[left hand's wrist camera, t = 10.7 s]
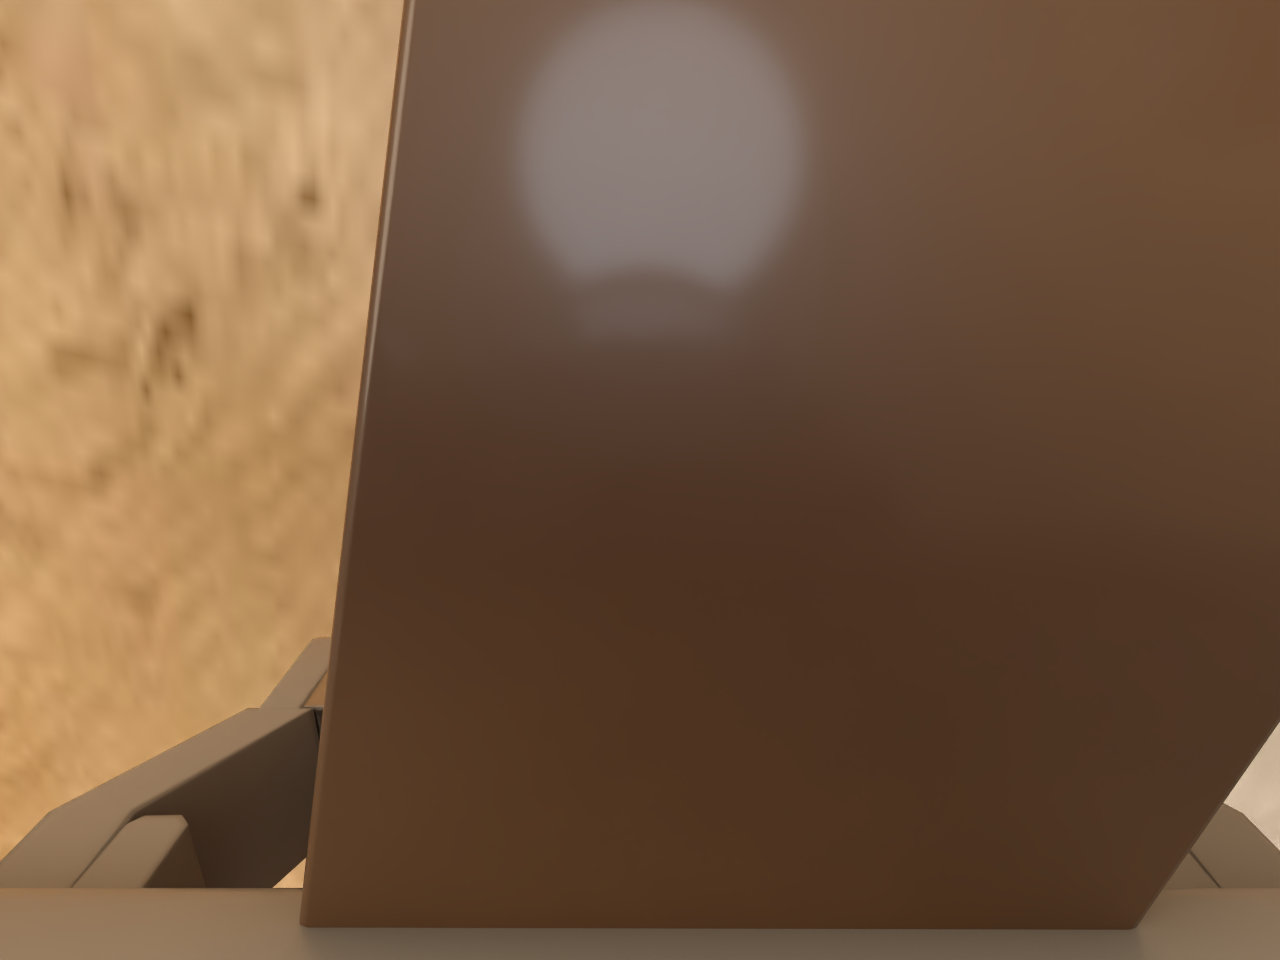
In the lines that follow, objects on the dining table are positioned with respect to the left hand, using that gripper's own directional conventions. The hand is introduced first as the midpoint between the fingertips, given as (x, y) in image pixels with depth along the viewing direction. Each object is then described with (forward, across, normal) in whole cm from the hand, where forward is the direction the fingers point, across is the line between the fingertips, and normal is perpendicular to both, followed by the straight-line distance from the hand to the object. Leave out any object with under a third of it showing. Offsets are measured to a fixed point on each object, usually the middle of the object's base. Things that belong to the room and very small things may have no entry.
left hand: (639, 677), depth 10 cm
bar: (+3, -2, -9) cm, 10 cm away
